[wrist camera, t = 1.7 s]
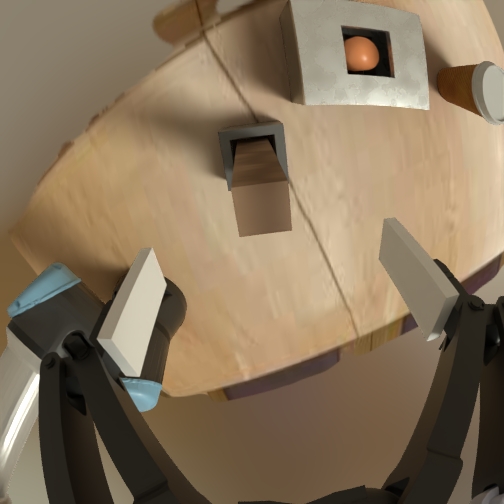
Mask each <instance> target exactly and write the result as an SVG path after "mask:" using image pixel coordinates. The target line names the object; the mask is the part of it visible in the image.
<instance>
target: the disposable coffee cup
mask: <svg viewBox="0 0 504 504" xmlns="http://www.w3.org/2000/svg"><path fill="white" fill-rule="evenodd" d="M437 85H438V89H439V92H440V94H441V95H442V97H443V98H444V99H445V100H446V101H448V102H450V103H453V104H455V105H457V106H460V107H462V108H464V109H466V110H469V111H471V112H473V113H475V114H477V115H479V116H481V117H483V118H484V119H485V120H487V121H488V122H489V123H491V124H493V125H500V124H504V70H503V69H502V68H500V67H498V66H496V65H495V64H494V63H492V62H489V61H484V62H482V63H480V64H476V65H466V66H457V67H450V68H444V69H442V70H441V71H440V72H439V74H438V77H437Z"/></svg>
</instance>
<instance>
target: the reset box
mask: <svg viewBox="0 0 504 504" xmlns="http://www.w3.org/2000/svg"><path fill="white" fill-rule="evenodd" d="M280 23H281V29H282V35H283V42H284V48H285V55H286V62H287V69H288V76H289V84H290V92H291V100H292V103H297V104H302V105H335V104H352V105H382V106H396V107H408V108H417V109H426V110H429V90H428V75H427V64H426V55H425V47H424V40H423V33H422V28H421V22H420V17H419V15H417V14H414V13H410V12H406V11H402V10H398V9H394V8H389V7H385V6H380V5H374V4H369V3H362V2H355V1H348V0H288V2H287V4H286V6H285V8H284V10H283V12H282V14H281V16H280ZM353 37H364V38H367V39H368V40H370V41H371V42H372V43H373V44H374V45H375V46H376V48H377V50H378V52H379V61H378V63H377V65H376V66H375V67H374V68H372V69H370V70H363V71H364V75H351V74H347V65H346V57H345V49H344V42H343V40H348V39H351V38H353Z"/></svg>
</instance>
